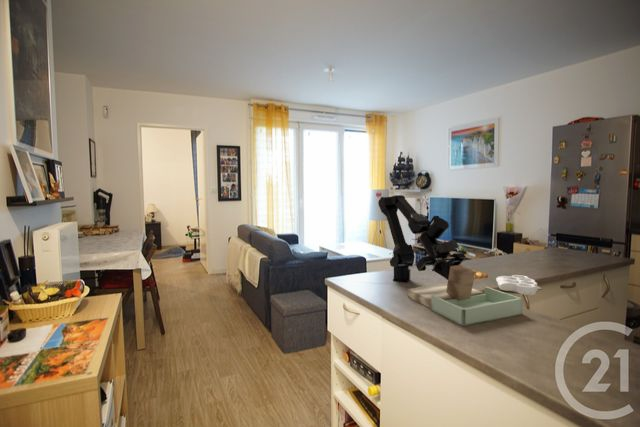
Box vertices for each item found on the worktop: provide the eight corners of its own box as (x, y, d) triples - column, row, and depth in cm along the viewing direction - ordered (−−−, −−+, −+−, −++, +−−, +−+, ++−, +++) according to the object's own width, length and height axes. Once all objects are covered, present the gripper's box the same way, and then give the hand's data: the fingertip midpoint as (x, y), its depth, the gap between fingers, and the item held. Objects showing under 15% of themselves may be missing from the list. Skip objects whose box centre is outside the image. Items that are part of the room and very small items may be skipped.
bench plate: (407, 296, 123) (407, 288, 123) (454, 289, 131) (454, 281, 130) (433, 309, 110) (433, 300, 110) (483, 300, 118) (483, 292, 117)
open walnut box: (446, 292, 116) (450, 266, 113) (457, 290, 118) (461, 264, 115) (458, 300, 110) (463, 273, 108) (470, 298, 112) (475, 271, 110)
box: (431, 310, 109) (431, 295, 109) (485, 300, 118) (486, 286, 117) (463, 326, 96) (463, 309, 96) (522, 313, 105) (522, 298, 104)
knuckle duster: (495, 280, 142) (534, 284, 137) (500, 293, 126) (545, 297, 120) (495, 273, 142) (535, 276, 137) (500, 284, 126) (546, 288, 120)
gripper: (421, 234, 116) (443, 272, 107) (462, 231, 123) (486, 266, 113) (407, 252, 124) (427, 289, 115) (447, 248, 131) (468, 283, 121)
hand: (452, 281), depth 116 cm, fingers closed
